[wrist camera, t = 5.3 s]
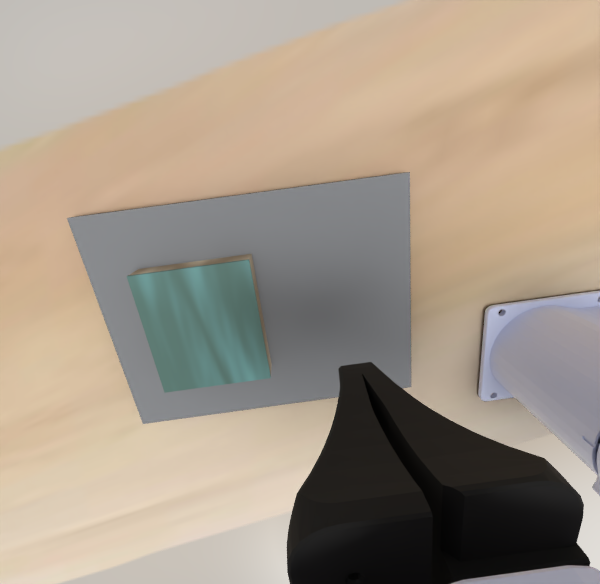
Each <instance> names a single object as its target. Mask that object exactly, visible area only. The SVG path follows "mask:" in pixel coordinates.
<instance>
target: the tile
mask: <svg viewBox="0 0 600 584" xmlns="http://www.w3.org/2000/svg"><path fill="white" fill-rule="evenodd" d="M127 279H128V282H129V286H130V289H131V292H132V295H133V298H134V301H135V304H136V307H137V310H138V313H139V316H140V319H141V322H142V325H143V328H144V331H145V334H146V338H147V341H148V344H149V347H150V350H151V353H152V356H153V359H154V362H155V365H156V368H157V371H158V374H159V377H160V380H161V383H162V386H163V390H164V393H167V392H174V391H181V390H188V389H196V388H203V387H210V386H218V385H225V384H232V383H239V382H247V381H254V380H261V379H269V378H271V367H272V364H271V359H270V353H269V348H268V342H267V337H266V331H265V325H264V320H263V314H262V309H261V303H260V298H259V292H258V287H257V281H256V276H255V270H254V265H253V259H252V254H246V255H239V256H231V257H224V258H217V259H209V260H202V261H194V262H187V263H179V264H172V265H165V266H157V267H150V268H142V269H138V270H136V271H135V272H133V273H131V274H130V275H128V276H127Z"/></svg>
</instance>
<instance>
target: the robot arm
mask: <svg viewBox="0 0 600 584" xmlns="http://www.w3.org/2000/svg"><path fill="white" fill-rule="evenodd" d="M598 298H599V299H598ZM501 309H502V312H501V313H499V311H500V310H501ZM498 313H499V314H498ZM338 370H339V380H340V391H339V399H338V404H337V408H336V413H335V417H334V421H333V424H332V427H331V430H330V433H329V435H328V438H327V440H326V443H325V445H324V448H323V450H322V452H321V454H320V456H319V458H318V460H317V462H316V464H315V465H314V467H313V469H312V471H311V473H310V474H309V476H308V478H307V479H306V481H305V482H304V484H303V485H302V487H301V488H300V490H299V491H298V493H297V496H296V499H295V503H294V507H293V511H292V515H291V520H290V525H289V531H288V540H287V566H288V576H289V580H290V584H600V571H599V570H597V569H595V568H593V567H590V566H589V565H590V561H589V558H588V557H587V556H586V554H585V553H584V552H583V551H582V549H581V548H580V547H579V546H578V545H577V543H576V542H577V538H578V534H579V530H580V526H581V523H582V518H583V507H584V504H583V502H582V499H581V496H580V495H579V494H578V493H577V492H576V490H575V489H573V487H572V486H571V485H570V484H569V483H568V482H567V481H566V479H564V477H563V476H562V475H561V474H560V473H559V472H558V471H557V470H556V469H555V468H554V467H553V466H552V465H551V464H550V463H549V462H548V461H546V459H544V458H542V457H539V456H536V455H533V454H529V453H527V452H524V451H521V450H518V449H515V448H512V447H509V446H506V445H504V444H501V443H499V442H496V441H494V440H491V439H489V438H486V437H484V436H482V435H479V434H477V433H475V432H473V431H470V430H468V429H466V428H464V427H462V426H460V425H458V424H456V423H454V422H452V421H450V420H449V419H447V418H445V417H443V416H442V415H440V414H438V413H437V412H435V411H433V410H431V409H430V408H428V407H427V406H425V405H424V404H422V403H421V402H419V401H418V400H416V399H415V398H414V397H412V396H411V395H410V394H408V393H407V392H406V391H404V390H403V389H402V388H401V387H400V386H398V385H397V384H396V383H395V382H393V381H392V380H391V379H390V378H389V377H388V376H387V375H385V374H384V373H383V372H382V371H381V370H380V369H379V368H378V367H377V366H375V365H374V364H373V363H372V362H366V363H359V364H351V365H344V366H340V368H339V369H338ZM492 393H493V394H492ZM491 394H492V395H491ZM478 395H479V397H480V398H481V400H483V401H492V400H499V399H506V398H513V397H515V398H516V399H517V400H518V401H519V402H520V403H521V404H522V405H523V406H524V407H525V408H526V409H527V410H529V411H530V412H531V413H532V414H533V415H534V416H535V417H536V418H537V419H538V420H539V421H540V422H541V423H542V424H543V425H545V426H546V427H547V428H548V429H549V430H550V431H551V432H552V433H553V434H554V435H555V436H556V437H557V438H559V439H560V440H561V441H562V442H563V443H564V444H565V445H566V446H567V447H568V448H569V449H570V450H571V451H573V453H575V454H576V456H578V457H579V458H580V459H581V460H582V461H583V462H584V463H585V464H586V465H587V466H588V467H589V468H590V469H591V470H593V471H594V472H595V473H596V474H597V475H598V477H597V479H596V482H595V483H594V485H593V487H592V488H593V489H594V490H595V491H596V492H597V493H598V494H599V495H600V291H592V292H585V293H578V294H570V295H563V296H556V297H548V298H541V299H534V300H526V301H519V302H512V303H504V304H497V305H491V306H489V307H488V308H487V309H486V310H485V317H484V330H483V342H482V355H481V367H480V380H479V392H478Z"/></svg>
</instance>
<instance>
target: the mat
mask: <svg viewBox="0 0 600 584" xmlns="http://www.w3.org/2000/svg"><path fill="white" fill-rule="evenodd" d="M67 219H68V222H69V225H70V228H71V230H72V233H73V236H74V238H75V241H76V244H77V247H78V249H79V252H80V255H81V257H82V260H83V263H84V265H85V268H86V271H87V274H88V276H89V279H90V282H91V284H92V287H93V290H94V292H95V295H96V298H97V301H98V303H99V306H100V309H101V311H102V314H103V317H104V320H105V322H106V325H107V328H108V330H109V333H110V336H111V338H112V341H113V344H114V347H115V349H116V352H117V355H118V357H119V360H120V363H121V366H122V368H123V371H124V374H125V376H126V379H127V382H128V384H129V387H130V390H131V393H132V395H133V398H134V401H135V403H136V406H137V409H138V412H139V414H140V417H141V420H142V422H143V424H146V423H153V422H161V421H168V420H175V419H182V418H190V417H197V416H204V415H211V414H219V413H226V412H233V411H240V410H248V409H255V408H262V407H269V406H277V405H284V404H291V403H298V402H306V401H313V400H320V399H327V398H335V397H339V391H340V380H339V370H338V369H339V368H340V366H344V365H351V364H359V363H366V362H372V363H373V364H374V365H375V366H377V367H378V368H379V369H380V370H381V371H382V372H383V373H384V374H385V375H387V376H388V377H389V378H390V379H391V380H392V381H393V382H395V383H396V384H397V385H398V386H400V387H401V388H407V387H411V295H410V172H407V173H399V174H391V175H384V176H376V177H369V178H361V179H354V180H346V181H339V182H332V183H324V184H317V185H309V186H302V187H294V188H287V189H279V190H272V191H264V192H257V193H249V194H242V195H234V196H227V197H220V198H212V199H205V200H197V201H190V202H182V203H175V204H167V205H160V206H152V207H145V208H137V209H130V210H122V211H115V212H107V213H100V214H93V215H85V216H78V217H71V218H67ZM246 254H252V259H253V265H254V270H255V276H256V281H257V287H258V292H259V298H260V303H261V309H262V314H263V320H264V325H265V331H266V337H267V342H268V348H269V353H270V359H271V364H272V367H271V378H269V379H261V380H254V381H247V382H239V383H232V384H225V385H218V386H210V387H203V388H196V389H188V390H181V391H174V392H167V393H164V390H163V386H162V383H161V380H160V377H159V374H158V371H157V368H156V365H155V362H154V359H153V356H152V353H151V350H150V347H149V344H148V341H147V338H146V334H145V331H144V328H143V325H142V322H141V319H140V316H139V313H138V310H137V307H136V304H135V301H134V298H133V295H132V292H131V289H130V286H129V282H128V279H127V276H128V275H130V274H131V273H133V272H135V271H136V270H138V269H142V268H150V267H157V266H165V265H172V264H179V263H187V262H194V261H202V260H209V259H217V258H224V257H231V256H239V255H246Z"/></svg>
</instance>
